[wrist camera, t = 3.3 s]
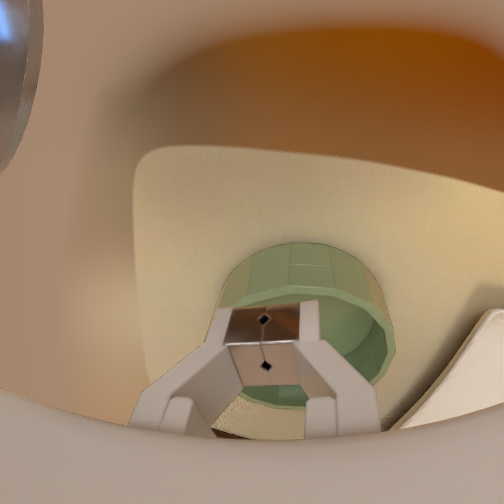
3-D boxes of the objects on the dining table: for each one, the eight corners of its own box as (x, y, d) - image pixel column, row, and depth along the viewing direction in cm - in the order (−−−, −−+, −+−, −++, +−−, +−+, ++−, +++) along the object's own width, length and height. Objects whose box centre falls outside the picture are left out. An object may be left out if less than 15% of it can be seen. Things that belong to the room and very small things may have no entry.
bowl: (199, 336, 28) (185, 379, 23) (257, 212, 21) (247, 251, 17) (326, 379, 29) (328, 421, 25) (412, 284, 22) (432, 328, 18)
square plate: (475, 282, 21) (494, 312, 18) (595, 305, 20) (609, 323, 17) (364, 438, 35) (366, 462, 32) (497, 425, 35) (502, 443, 31)
